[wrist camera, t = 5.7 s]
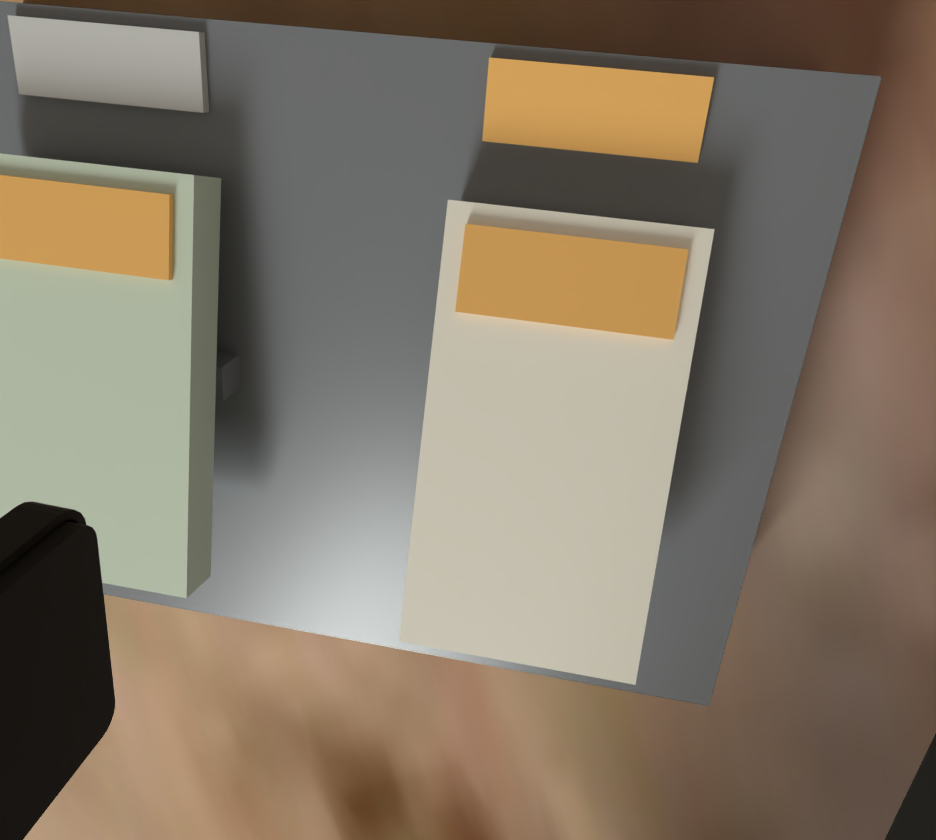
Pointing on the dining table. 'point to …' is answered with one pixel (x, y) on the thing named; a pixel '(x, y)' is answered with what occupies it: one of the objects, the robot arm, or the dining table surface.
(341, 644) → the dining table surface
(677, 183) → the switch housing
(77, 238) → the sage rocker
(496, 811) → the dining table surface
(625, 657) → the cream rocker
